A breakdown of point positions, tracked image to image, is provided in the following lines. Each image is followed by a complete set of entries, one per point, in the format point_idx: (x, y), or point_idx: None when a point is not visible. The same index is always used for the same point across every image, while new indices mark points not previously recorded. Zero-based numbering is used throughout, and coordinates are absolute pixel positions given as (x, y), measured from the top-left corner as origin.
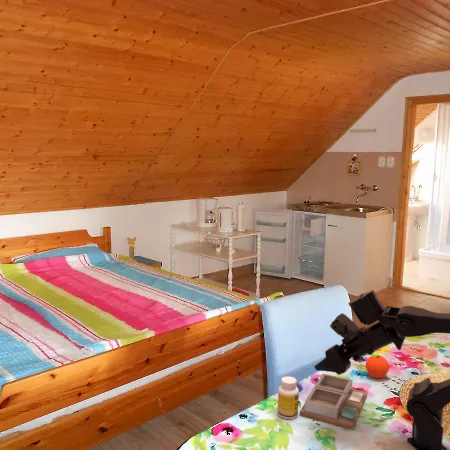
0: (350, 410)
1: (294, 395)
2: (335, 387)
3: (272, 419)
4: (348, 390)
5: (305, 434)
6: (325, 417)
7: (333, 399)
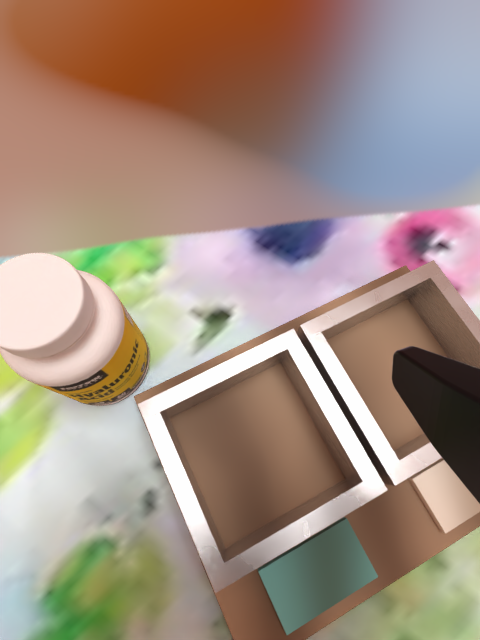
0: (336, 566)
1: (41, 385)
2: (437, 346)
3: None
4: None
5: (33, 531)
6: None
7: (328, 439)
